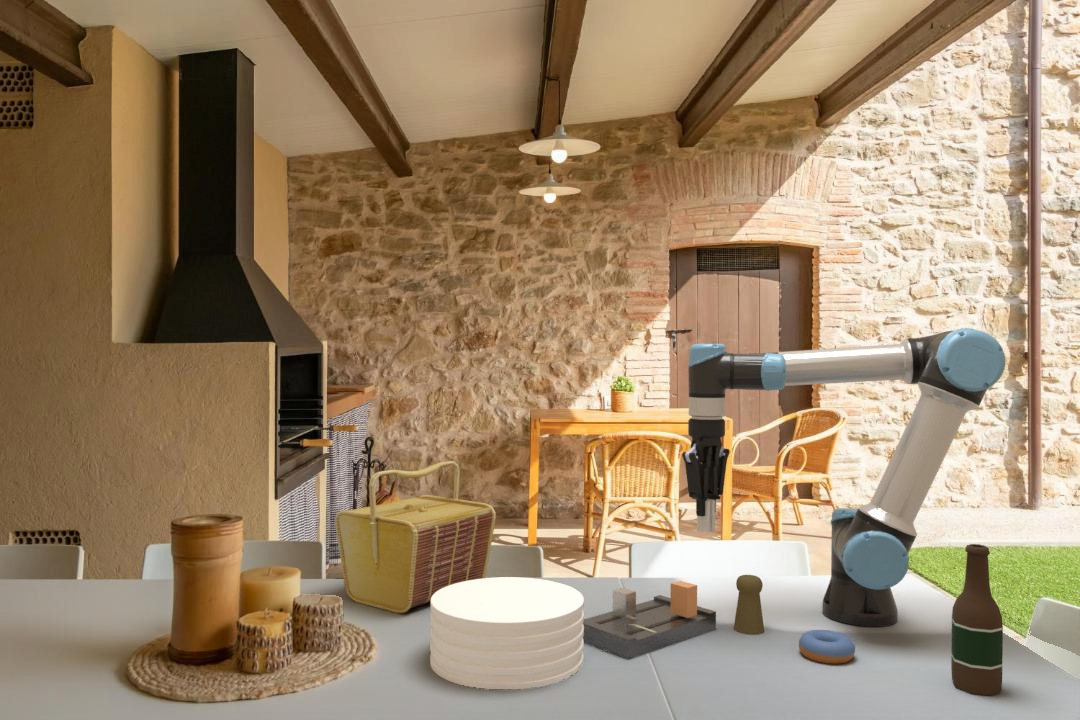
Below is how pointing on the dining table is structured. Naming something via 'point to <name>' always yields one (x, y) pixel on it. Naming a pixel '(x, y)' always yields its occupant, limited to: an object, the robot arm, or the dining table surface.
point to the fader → (683, 599)
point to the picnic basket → (412, 545)
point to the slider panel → (643, 625)
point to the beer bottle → (977, 630)
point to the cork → (749, 606)
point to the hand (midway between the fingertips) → (705, 530)
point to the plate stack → (506, 632)
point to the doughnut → (826, 646)
